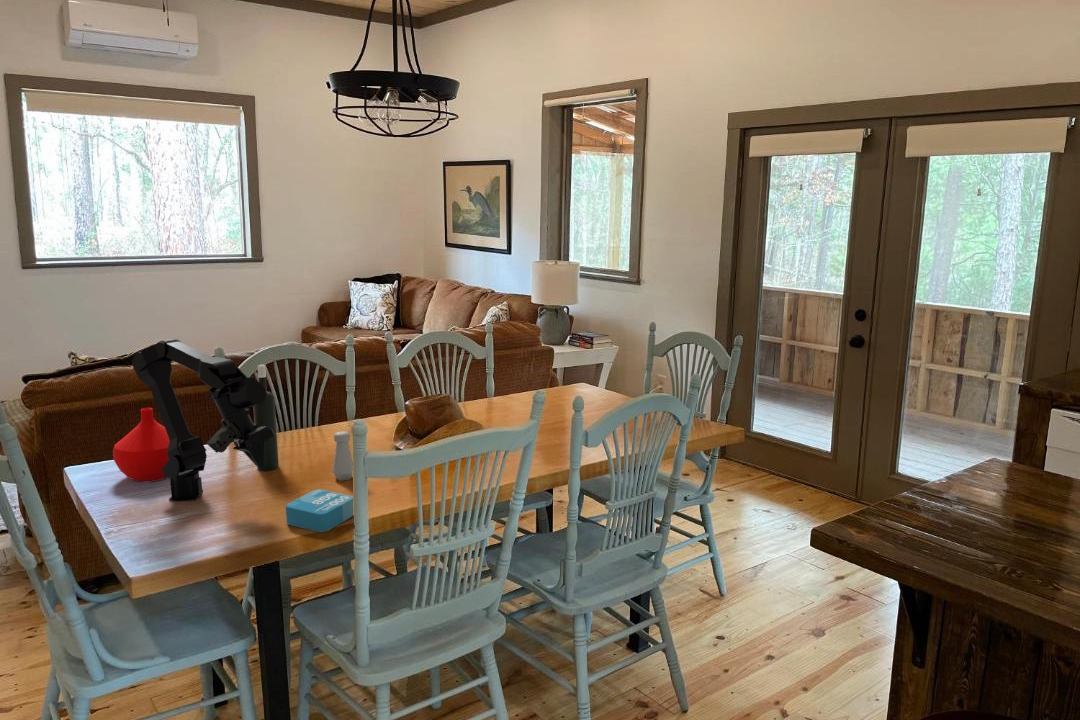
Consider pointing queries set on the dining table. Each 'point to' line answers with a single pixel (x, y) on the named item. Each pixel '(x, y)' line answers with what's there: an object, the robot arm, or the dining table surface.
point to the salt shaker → (342, 456)
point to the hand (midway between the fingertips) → (261, 467)
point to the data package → (319, 510)
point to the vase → (143, 450)
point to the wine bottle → (267, 424)
